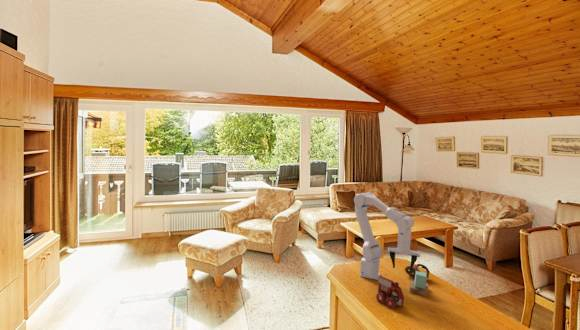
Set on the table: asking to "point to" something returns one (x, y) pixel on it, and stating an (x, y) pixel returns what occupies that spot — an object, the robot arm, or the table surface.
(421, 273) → the teal block
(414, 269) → the dark headphones
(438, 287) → the table surface
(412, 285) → the pale grey flat block
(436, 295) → the table surface
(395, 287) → the toy fire truck
